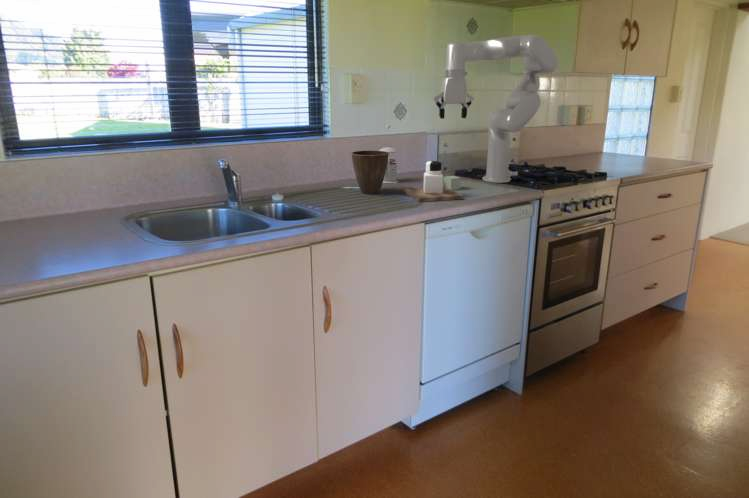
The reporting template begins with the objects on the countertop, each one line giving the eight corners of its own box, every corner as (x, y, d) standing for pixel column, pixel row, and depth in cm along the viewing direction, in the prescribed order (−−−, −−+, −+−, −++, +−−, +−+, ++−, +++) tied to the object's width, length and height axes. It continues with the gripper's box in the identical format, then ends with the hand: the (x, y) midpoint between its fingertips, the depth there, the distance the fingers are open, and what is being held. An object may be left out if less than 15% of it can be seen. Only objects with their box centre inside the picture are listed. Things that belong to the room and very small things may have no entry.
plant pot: (344, 192, 213) (343, 152, 208) (370, 187, 223) (370, 149, 219) (369, 197, 203) (369, 156, 198) (396, 192, 213) (396, 152, 208)
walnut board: (444, 190, 217) (444, 186, 217) (462, 199, 201) (463, 195, 200) (403, 192, 213) (403, 188, 213) (418, 202, 196) (418, 198, 196)
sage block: (452, 187, 224) (453, 175, 222) (460, 189, 220) (460, 177, 218) (443, 188, 221) (443, 176, 220) (450, 190, 217) (451, 178, 216)
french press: (399, 179, 239) (400, 123, 231) (397, 184, 228) (398, 126, 220) (377, 179, 240) (377, 123, 232) (375, 184, 229) (375, 125, 221)
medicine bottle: (441, 190, 210) (442, 160, 206) (442, 193, 203) (443, 162, 200) (423, 190, 210) (424, 160, 207) (424, 193, 204) (425, 162, 200)
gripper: (470, 75, 219) (468, 117, 224) (431, 75, 214) (430, 118, 220) (478, 75, 212) (475, 118, 217) (438, 74, 207) (436, 119, 213)
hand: (452, 118), depth 218 cm, fingers open, 9 cm apart
